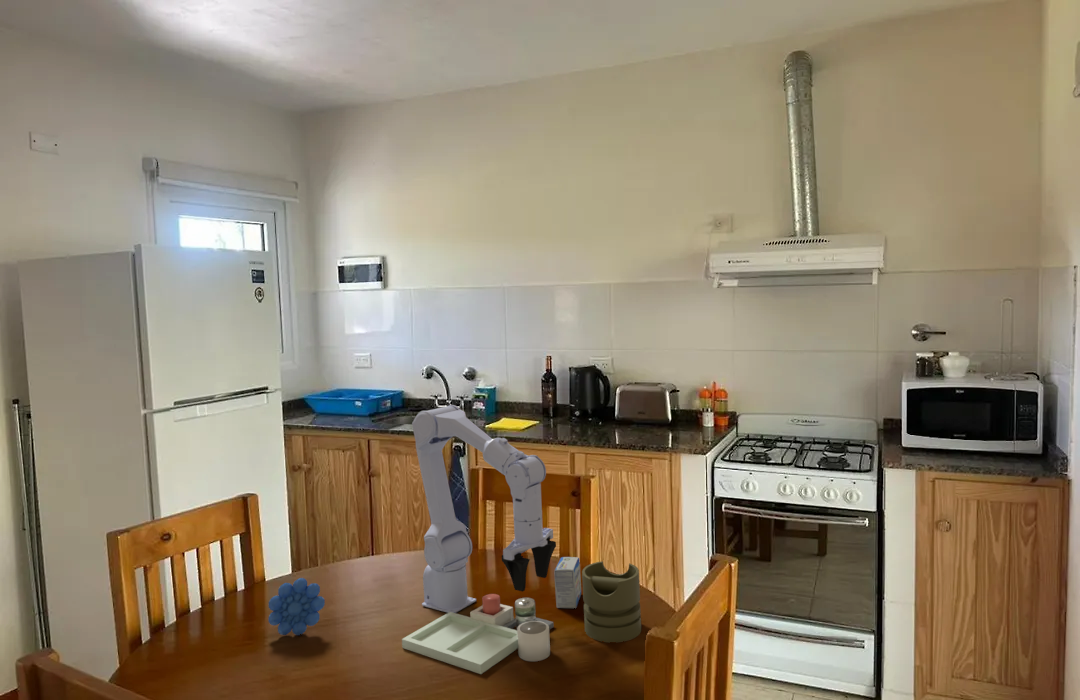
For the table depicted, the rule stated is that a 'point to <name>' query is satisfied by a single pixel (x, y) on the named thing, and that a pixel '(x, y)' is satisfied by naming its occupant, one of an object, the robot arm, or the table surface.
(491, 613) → the button
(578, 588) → the medicine box
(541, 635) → the cup
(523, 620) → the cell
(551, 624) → the cradle
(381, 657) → the table surface
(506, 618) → the frame
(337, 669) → the table surface
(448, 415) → the robot arm
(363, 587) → the table surface
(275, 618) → the blue flower
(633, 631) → the piston
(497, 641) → the trough tray
